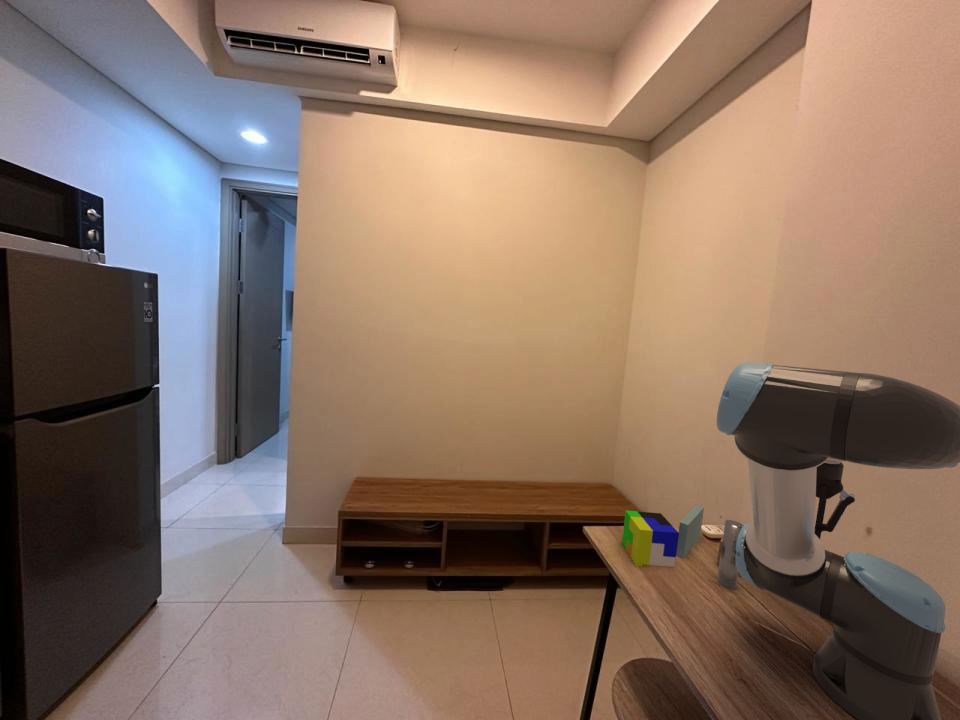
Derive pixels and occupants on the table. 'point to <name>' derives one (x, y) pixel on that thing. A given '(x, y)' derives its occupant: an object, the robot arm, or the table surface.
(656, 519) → the puzzle toy
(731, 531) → the dowel
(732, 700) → the table surface
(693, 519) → the backstop
